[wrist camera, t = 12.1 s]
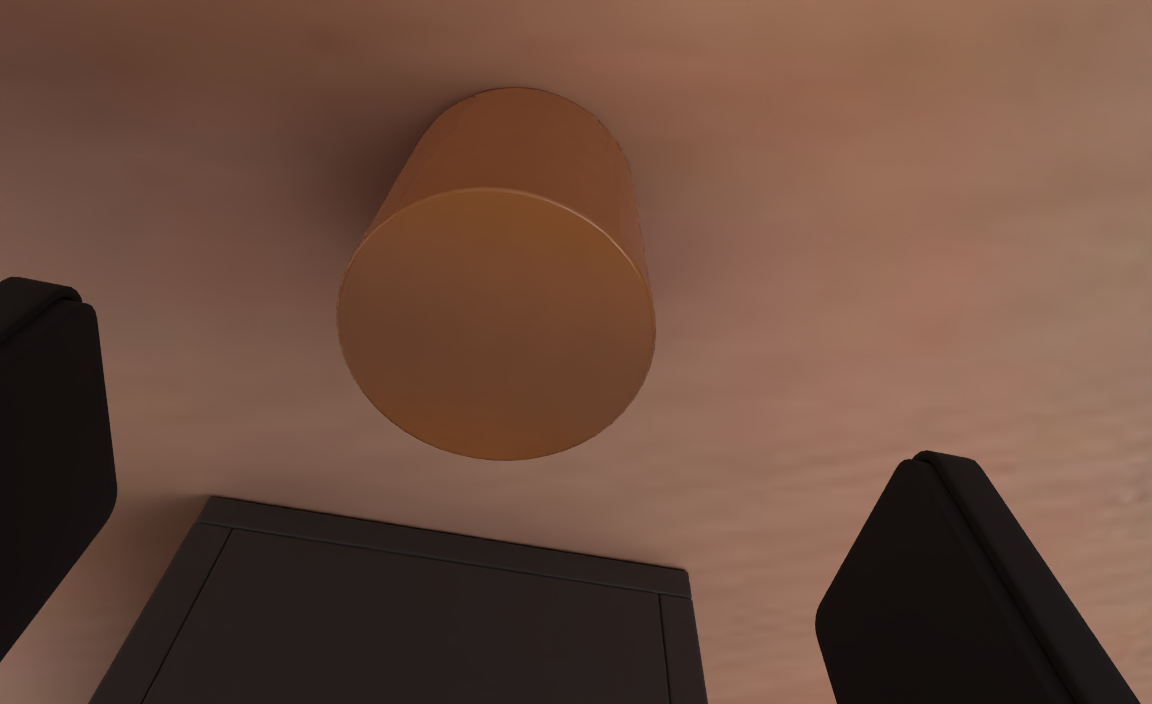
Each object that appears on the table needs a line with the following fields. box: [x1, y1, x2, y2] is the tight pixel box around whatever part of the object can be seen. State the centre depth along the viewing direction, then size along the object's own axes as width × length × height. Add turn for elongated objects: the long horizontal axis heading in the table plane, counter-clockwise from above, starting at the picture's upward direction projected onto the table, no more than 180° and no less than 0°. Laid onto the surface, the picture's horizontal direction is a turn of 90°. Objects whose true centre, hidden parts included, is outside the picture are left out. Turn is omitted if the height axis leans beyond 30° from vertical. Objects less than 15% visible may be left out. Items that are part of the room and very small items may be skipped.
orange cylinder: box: [337, 88, 656, 461], centre depth 13 cm, size 4×4×5 cm
